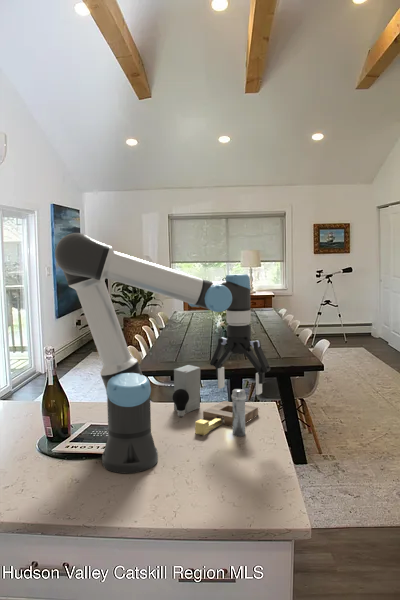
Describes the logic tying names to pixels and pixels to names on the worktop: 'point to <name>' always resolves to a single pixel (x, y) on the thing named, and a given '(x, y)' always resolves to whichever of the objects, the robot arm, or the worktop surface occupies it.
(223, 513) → the worktop surface
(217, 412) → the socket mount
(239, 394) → the cylinder
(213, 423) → the lock pin
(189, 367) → the skincare box
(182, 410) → the light bulb
